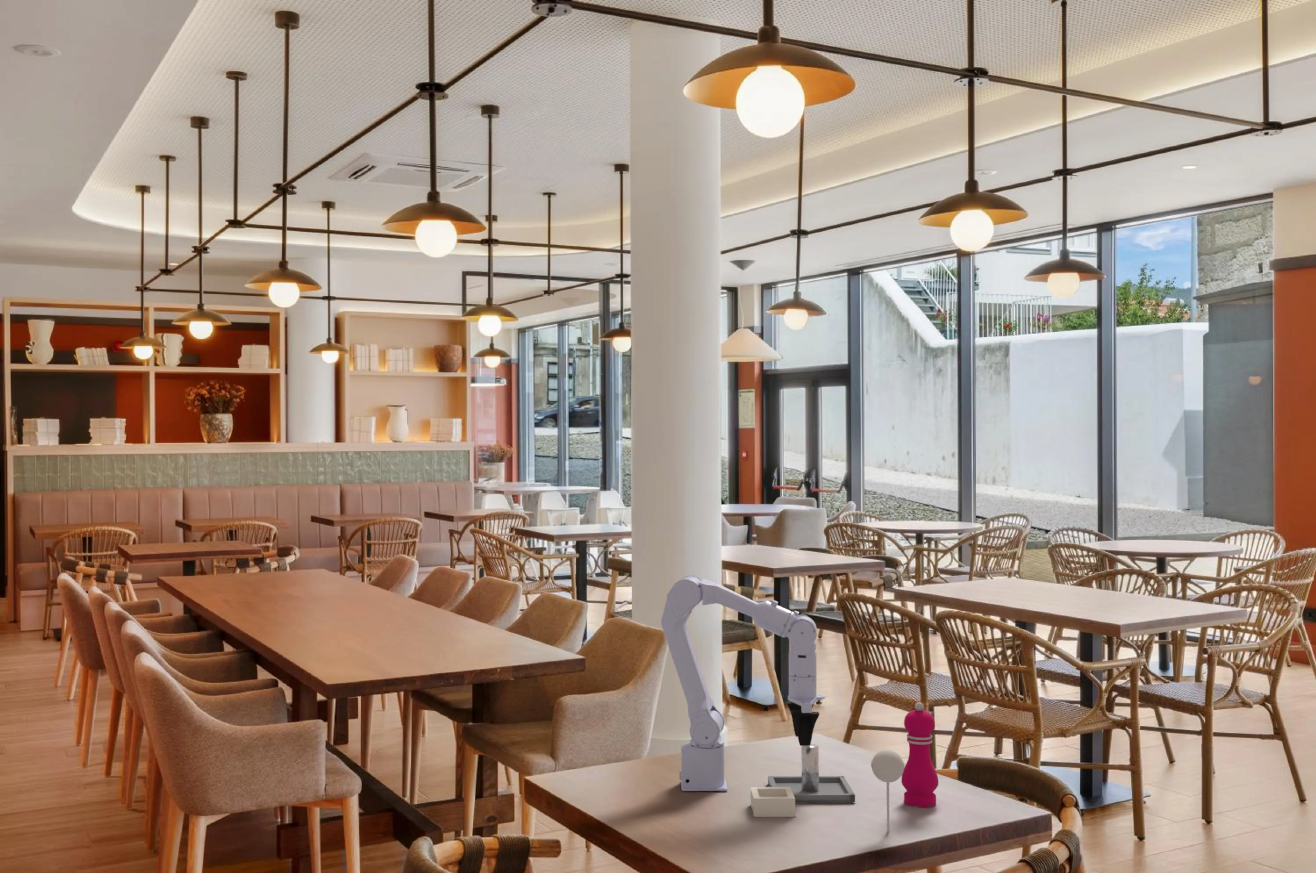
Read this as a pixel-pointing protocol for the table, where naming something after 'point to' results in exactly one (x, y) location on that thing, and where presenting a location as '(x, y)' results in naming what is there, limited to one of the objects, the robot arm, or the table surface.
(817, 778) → the steel pin
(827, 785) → the tray
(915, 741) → the pepper mill
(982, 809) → the table surface
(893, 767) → the lollipop
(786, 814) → the white hollow block
